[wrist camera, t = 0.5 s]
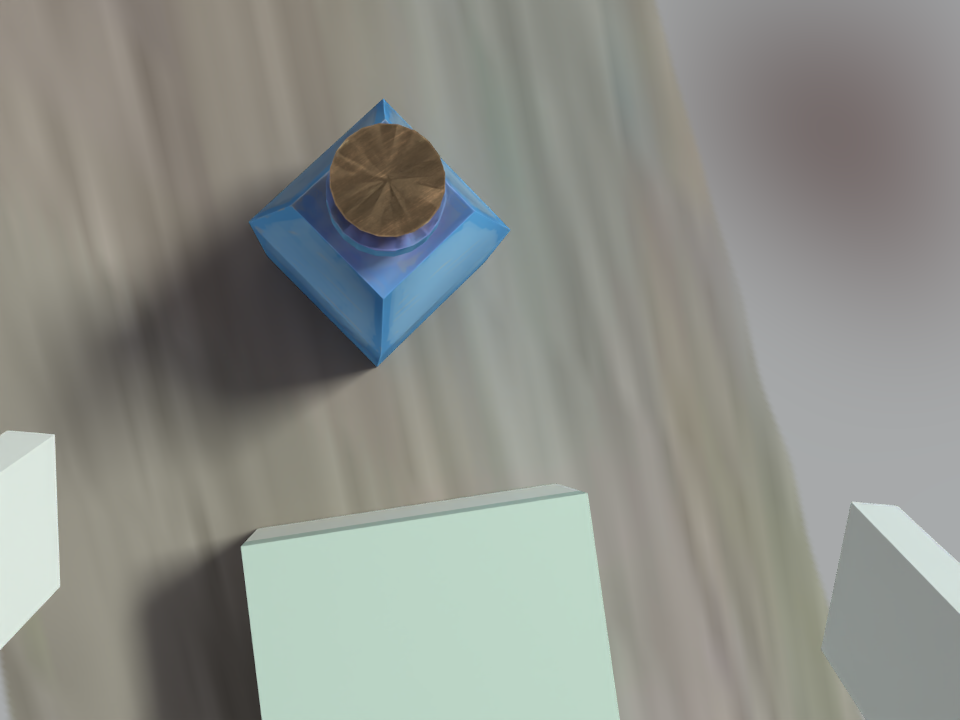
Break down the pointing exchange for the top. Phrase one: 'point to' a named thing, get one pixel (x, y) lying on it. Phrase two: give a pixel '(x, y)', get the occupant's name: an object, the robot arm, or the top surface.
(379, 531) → the mint green square block
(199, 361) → the top surface
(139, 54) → the top surface
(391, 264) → the perfume bottle
